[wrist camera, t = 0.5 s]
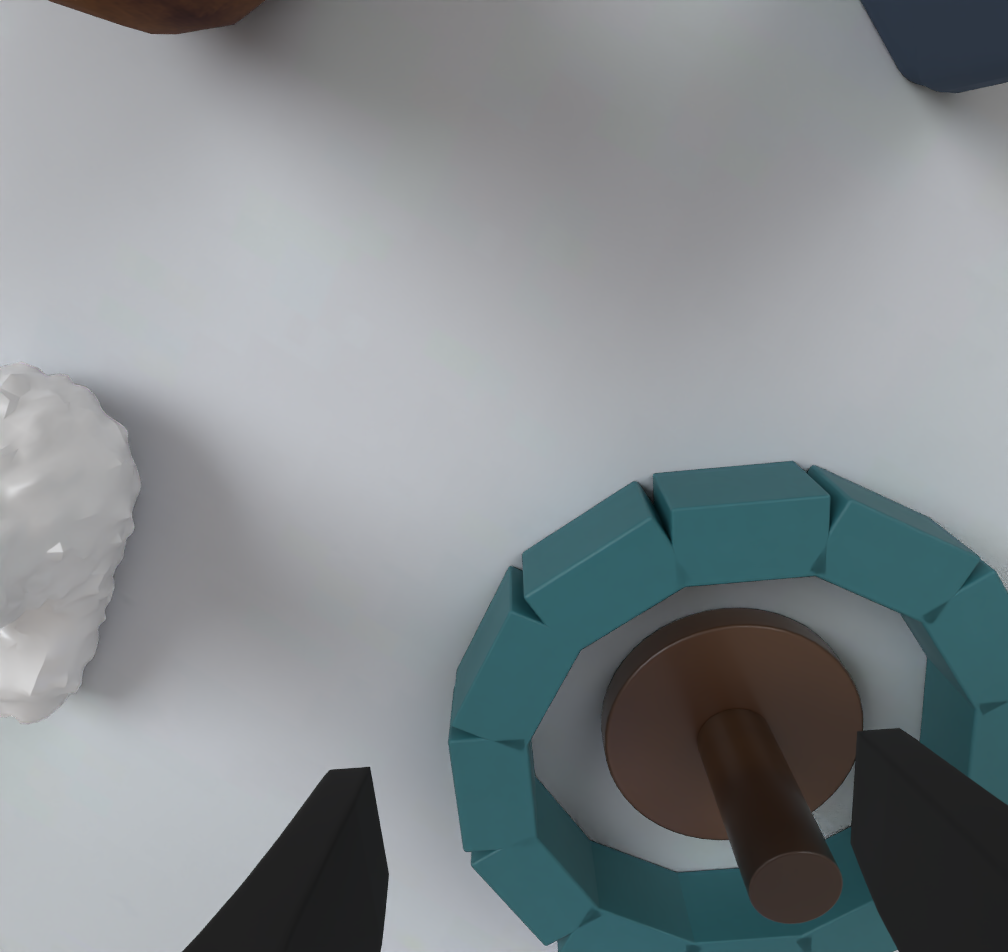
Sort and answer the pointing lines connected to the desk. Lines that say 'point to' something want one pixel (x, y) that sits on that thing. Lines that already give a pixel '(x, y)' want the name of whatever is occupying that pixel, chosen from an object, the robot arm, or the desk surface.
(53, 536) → the white creature statuette
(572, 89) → the desk surface
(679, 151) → the desk surface
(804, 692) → the hanging post
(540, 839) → the hoop
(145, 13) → the wooden figurine
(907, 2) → the vaping device
